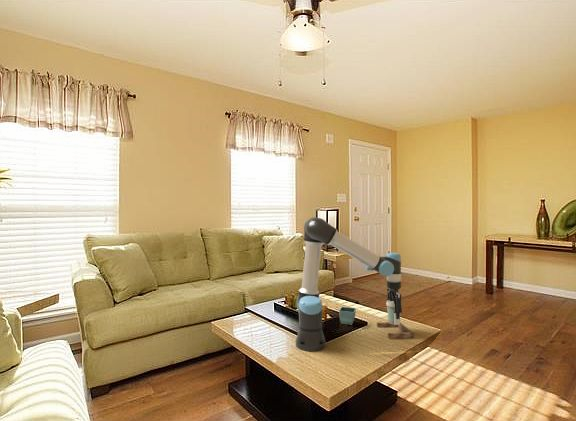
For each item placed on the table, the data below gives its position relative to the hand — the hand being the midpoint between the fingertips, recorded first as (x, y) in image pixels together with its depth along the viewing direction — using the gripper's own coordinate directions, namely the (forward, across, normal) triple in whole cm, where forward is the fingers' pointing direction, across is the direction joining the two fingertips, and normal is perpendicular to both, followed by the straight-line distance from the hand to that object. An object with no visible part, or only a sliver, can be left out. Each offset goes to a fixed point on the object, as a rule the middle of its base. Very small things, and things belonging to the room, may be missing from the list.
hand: (394, 321), depth 178 cm
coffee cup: (+1, 0, 0) cm, 1 cm away
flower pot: (+6, +14, +23) cm, 27 cm away
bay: (+6, 0, +1) cm, 6 cm away
